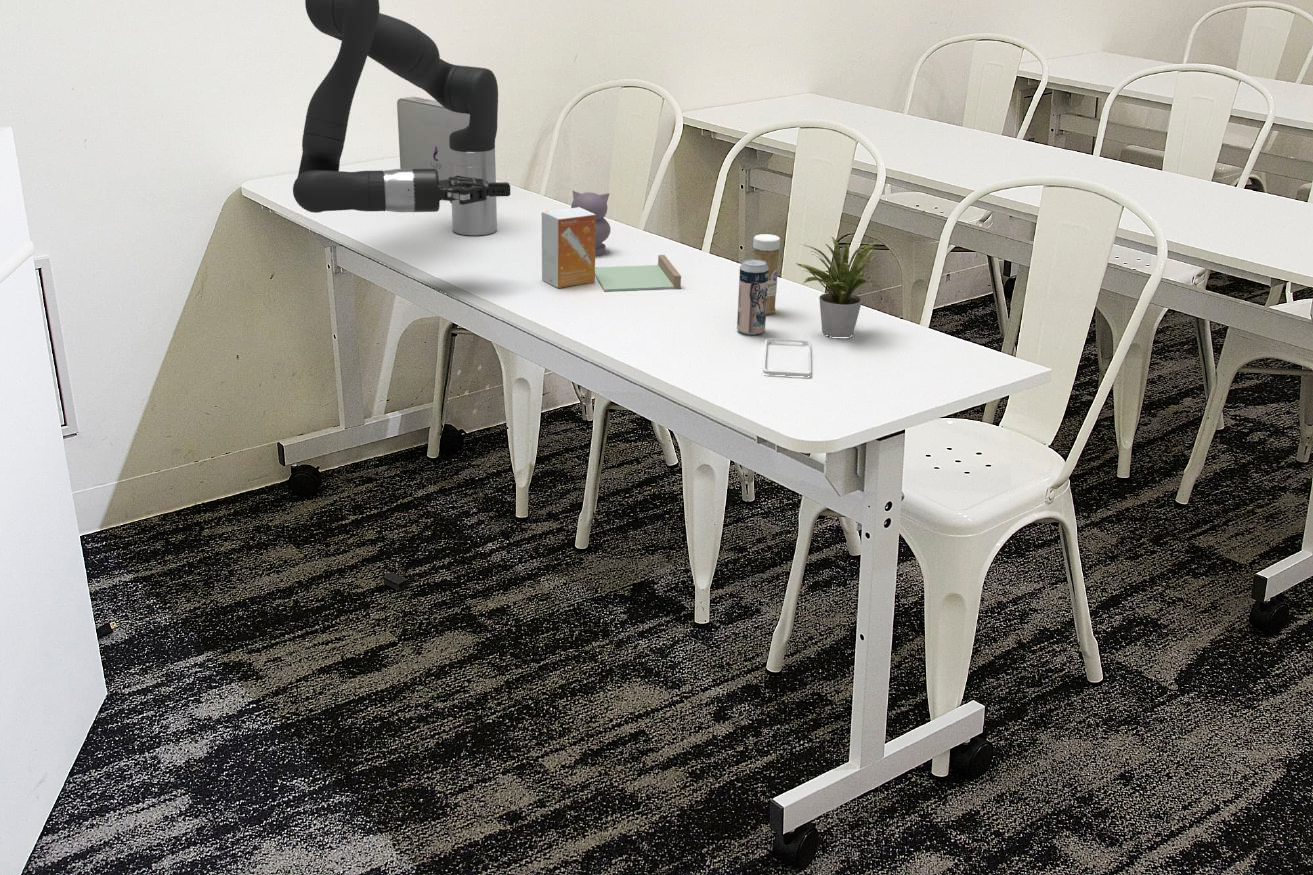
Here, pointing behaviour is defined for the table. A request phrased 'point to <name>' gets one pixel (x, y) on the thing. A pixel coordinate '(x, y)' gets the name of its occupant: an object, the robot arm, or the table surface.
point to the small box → (568, 247)
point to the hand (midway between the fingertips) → (509, 189)
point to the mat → (639, 277)
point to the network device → (427, 134)
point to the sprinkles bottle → (768, 264)
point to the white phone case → (787, 371)
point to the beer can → (752, 296)
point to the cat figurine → (598, 207)
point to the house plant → (840, 290)
